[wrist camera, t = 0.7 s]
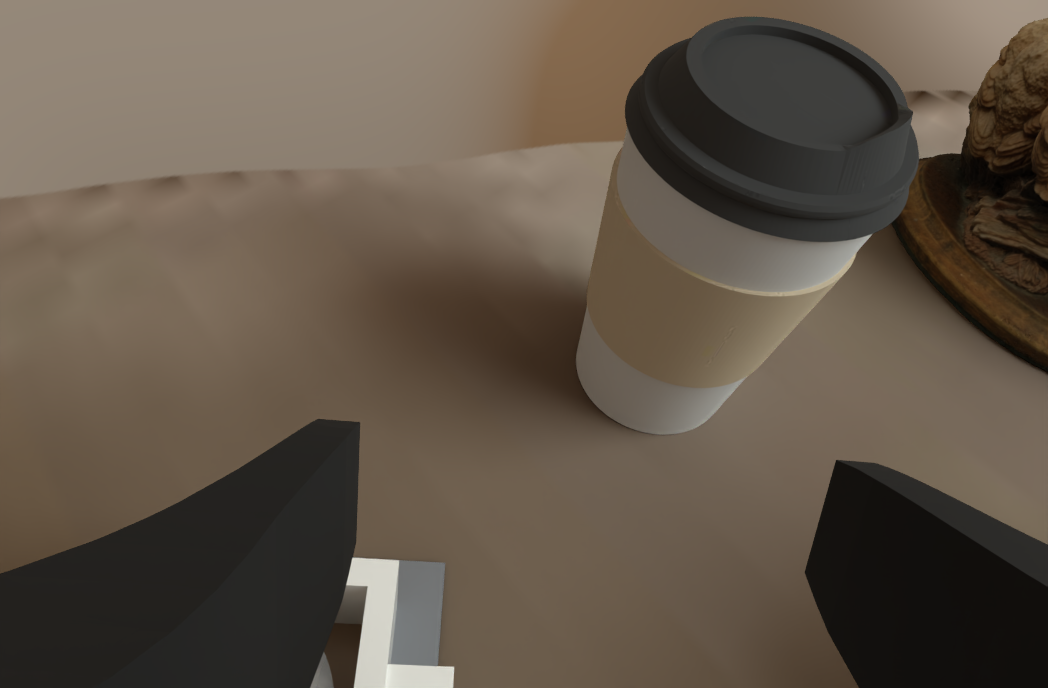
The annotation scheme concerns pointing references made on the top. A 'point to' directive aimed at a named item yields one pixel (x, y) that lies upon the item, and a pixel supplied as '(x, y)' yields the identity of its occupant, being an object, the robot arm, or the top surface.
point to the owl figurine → (992, 205)
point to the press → (389, 627)
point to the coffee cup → (734, 211)
